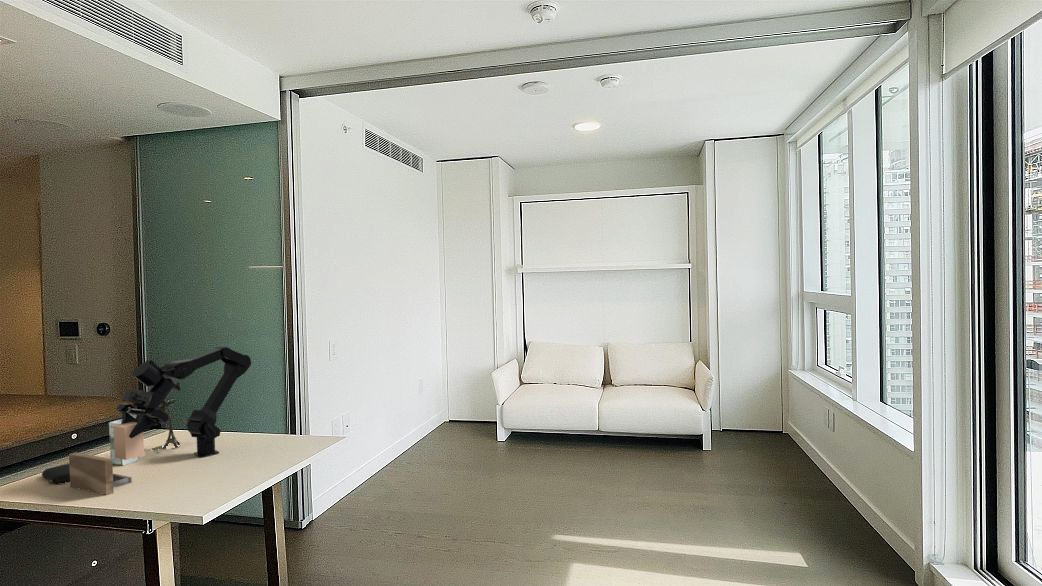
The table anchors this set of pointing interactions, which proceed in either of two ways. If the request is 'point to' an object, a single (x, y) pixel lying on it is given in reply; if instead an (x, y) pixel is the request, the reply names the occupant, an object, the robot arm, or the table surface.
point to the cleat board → (94, 473)
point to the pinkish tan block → (127, 442)
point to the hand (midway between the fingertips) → (124, 436)
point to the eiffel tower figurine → (172, 440)
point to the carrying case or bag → (57, 474)
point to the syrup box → (112, 449)
